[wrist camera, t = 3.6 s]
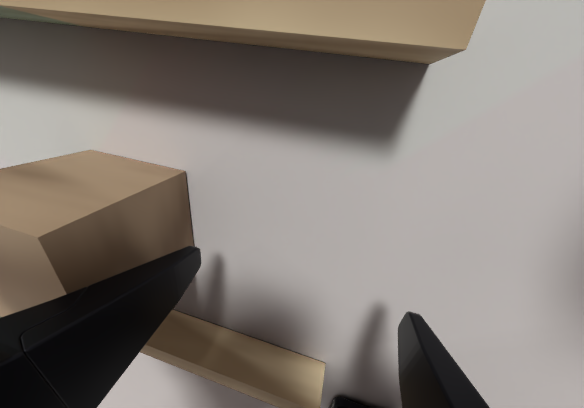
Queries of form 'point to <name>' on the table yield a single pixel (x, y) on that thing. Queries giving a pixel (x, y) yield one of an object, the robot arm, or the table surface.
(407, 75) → the table surface
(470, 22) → the lane walls
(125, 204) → the block
